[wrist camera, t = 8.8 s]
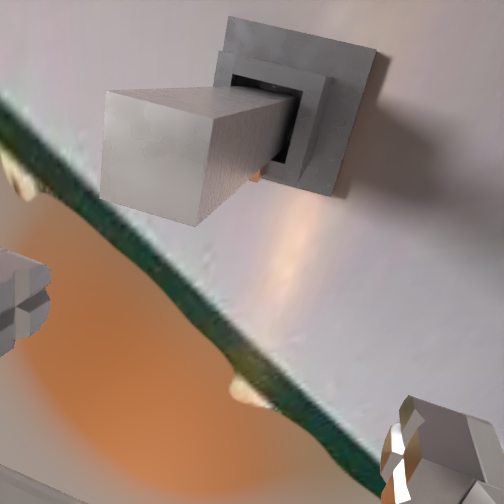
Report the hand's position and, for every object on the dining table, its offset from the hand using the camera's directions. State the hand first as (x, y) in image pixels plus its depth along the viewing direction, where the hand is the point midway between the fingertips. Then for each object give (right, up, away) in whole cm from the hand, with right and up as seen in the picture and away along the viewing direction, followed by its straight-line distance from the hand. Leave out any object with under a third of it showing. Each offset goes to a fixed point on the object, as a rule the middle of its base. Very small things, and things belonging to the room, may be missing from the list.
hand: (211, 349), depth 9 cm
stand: (+4, +16, +33) cm, 37 cm away
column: (+2, +13, +26) cm, 29 cm away
